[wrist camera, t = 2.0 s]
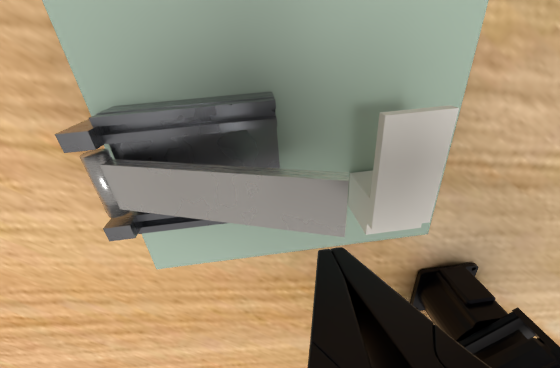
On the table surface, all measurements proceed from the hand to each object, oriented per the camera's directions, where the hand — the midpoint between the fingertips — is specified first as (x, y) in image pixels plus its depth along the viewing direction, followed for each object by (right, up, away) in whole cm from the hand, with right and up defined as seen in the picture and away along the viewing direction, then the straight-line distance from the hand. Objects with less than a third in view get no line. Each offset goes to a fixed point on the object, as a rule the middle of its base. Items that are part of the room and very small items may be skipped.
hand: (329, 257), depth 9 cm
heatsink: (-8, +4, +9) cm, 13 cm away
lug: (+6, +5, +11) cm, 13 cm away
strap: (-6, +2, +5) cm, 8 cm away
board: (-1, +6, +11) cm, 12 cm away
